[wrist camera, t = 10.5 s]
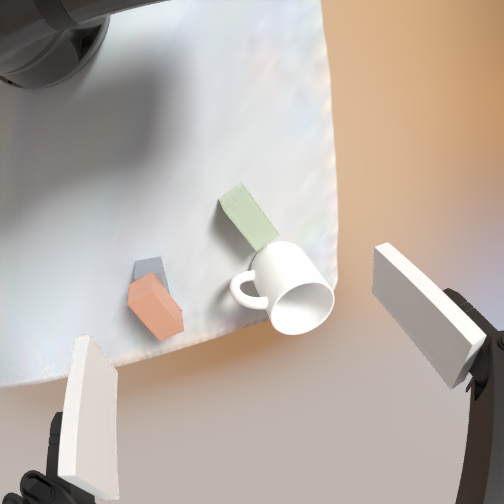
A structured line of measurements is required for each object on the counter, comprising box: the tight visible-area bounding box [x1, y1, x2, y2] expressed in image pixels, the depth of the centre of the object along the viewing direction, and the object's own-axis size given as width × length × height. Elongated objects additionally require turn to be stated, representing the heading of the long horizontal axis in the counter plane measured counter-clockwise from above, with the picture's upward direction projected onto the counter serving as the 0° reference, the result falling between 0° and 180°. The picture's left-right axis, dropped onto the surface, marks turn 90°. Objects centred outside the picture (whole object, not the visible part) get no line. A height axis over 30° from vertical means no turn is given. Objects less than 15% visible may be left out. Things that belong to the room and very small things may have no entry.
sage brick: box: [219, 182, 279, 252], centre depth 39 cm, size 7×4×4 cm, turn 34°
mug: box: [229, 241, 334, 335], centre depth 41 cm, size 12×8×10 cm
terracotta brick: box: [127, 272, 184, 341], centre depth 37 cm, size 7×4×4 cm, turn 24°
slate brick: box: [133, 257, 171, 296], centre depth 41 cm, size 7×4×4 cm, turn 5°
